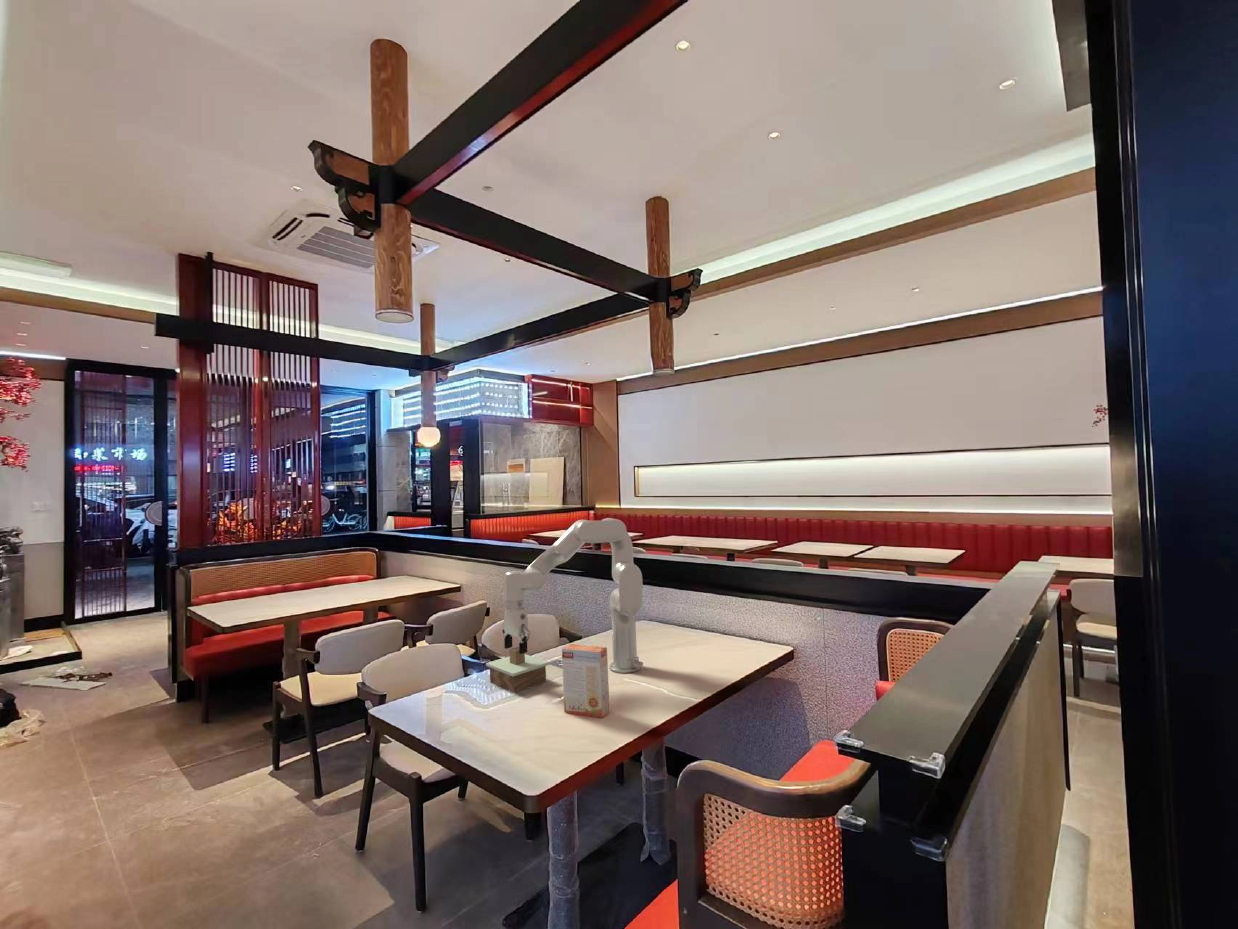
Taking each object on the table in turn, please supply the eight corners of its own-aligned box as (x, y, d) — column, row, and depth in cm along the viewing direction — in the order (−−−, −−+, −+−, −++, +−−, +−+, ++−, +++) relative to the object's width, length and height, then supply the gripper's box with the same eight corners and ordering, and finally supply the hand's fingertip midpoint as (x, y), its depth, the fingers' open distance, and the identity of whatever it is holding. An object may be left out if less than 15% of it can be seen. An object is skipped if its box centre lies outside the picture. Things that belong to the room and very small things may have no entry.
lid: (549, 667, 207) (548, 648, 207) (513, 679, 195) (512, 659, 196) (521, 657, 219) (520, 640, 220) (486, 668, 208) (485, 649, 208)
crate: (546, 683, 206) (545, 664, 207) (514, 695, 197) (513, 675, 197) (521, 674, 218) (520, 656, 218) (490, 684, 208) (489, 665, 208)
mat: (591, 669, 220) (591, 668, 220) (555, 682, 207) (555, 681, 207) (560, 659, 234) (560, 658, 234) (524, 671, 221) (524, 670, 221)
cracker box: (610, 711, 179) (607, 646, 180) (602, 719, 174) (599, 651, 174) (572, 705, 185) (570, 642, 186) (563, 712, 180) (561, 647, 180)
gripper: (536, 605, 204) (537, 652, 204) (510, 599, 217) (511, 643, 216) (520, 609, 199) (520, 657, 199) (493, 602, 211) (494, 648, 211)
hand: (515, 650), depth 207 cm, fingers open, 9 cm apart
